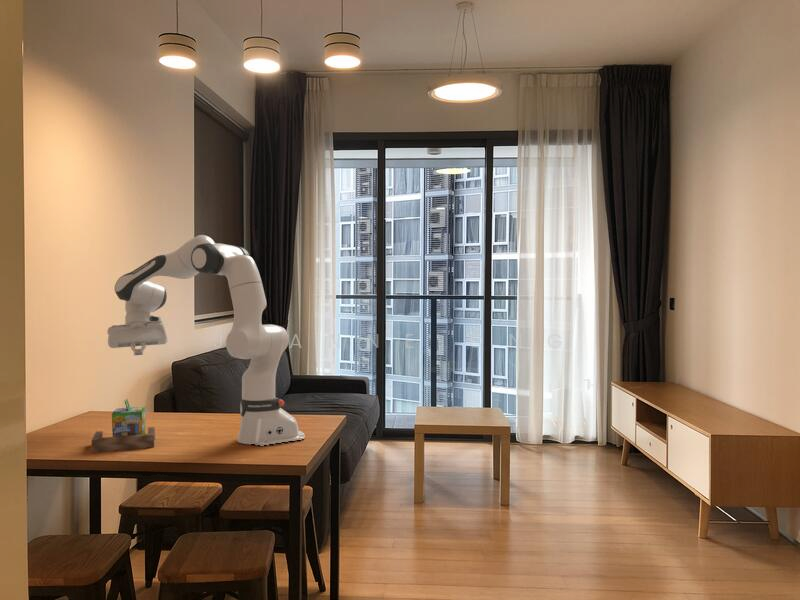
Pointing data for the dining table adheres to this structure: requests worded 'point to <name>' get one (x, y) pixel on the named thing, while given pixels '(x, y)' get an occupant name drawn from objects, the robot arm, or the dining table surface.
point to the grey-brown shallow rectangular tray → (122, 441)
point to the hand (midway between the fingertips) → (138, 354)
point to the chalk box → (128, 421)
